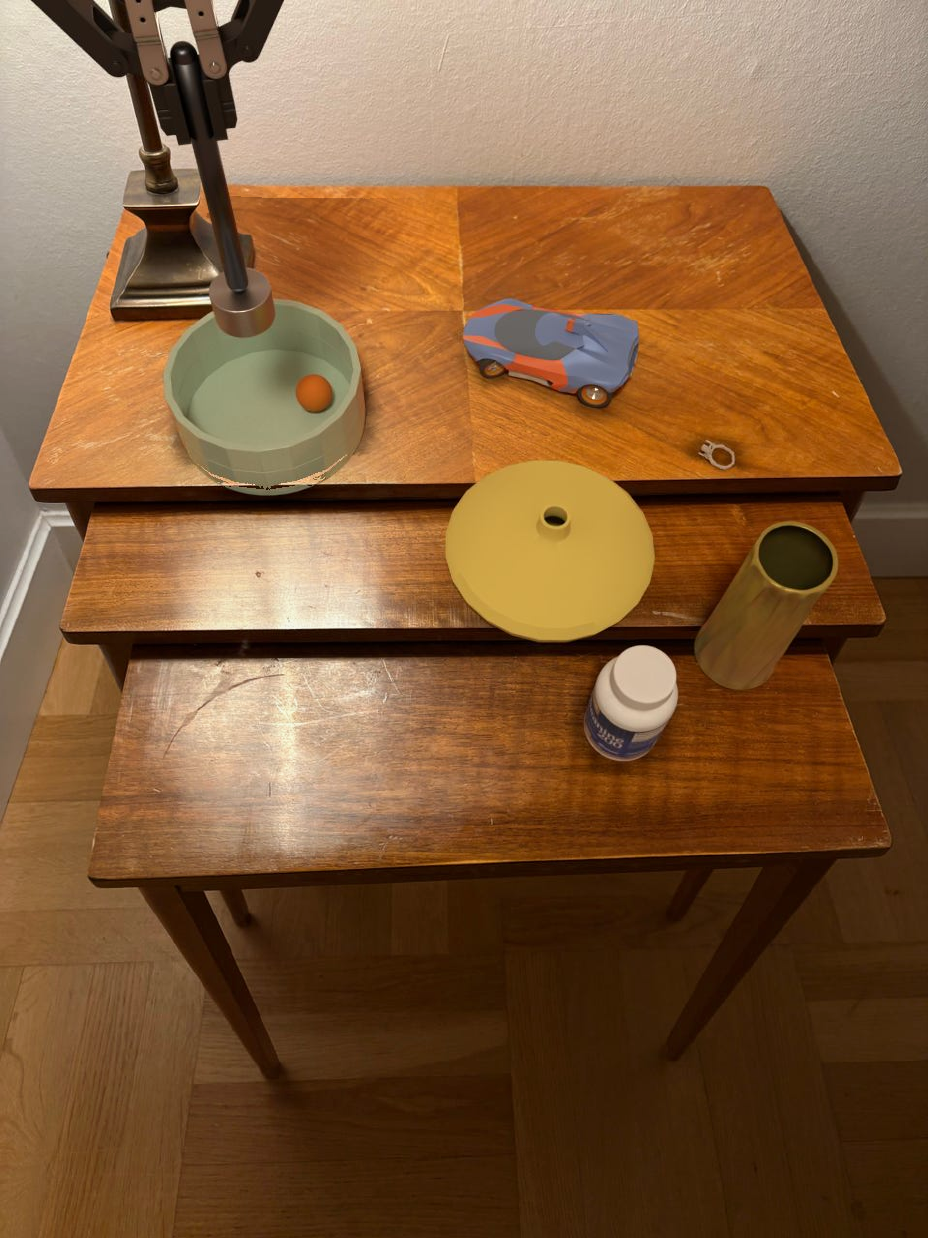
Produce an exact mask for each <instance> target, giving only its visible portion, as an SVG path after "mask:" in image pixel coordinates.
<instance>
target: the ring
mask: <svg viewBox="0 0 928 1238" xmlns="http://www.w3.org/2000/svg"><path fill="white" fill-rule="evenodd" d="M705 442H706V443H708V444H709V445H707V444H705V443H703V444H702V445H701V447H700V449H701V451H703V452H704V453H702V452H698V454H697V455H699V456H701V457H703V458H705V460H709V462H710V464H711V465H712V466H713V467H716V468H717V469H719V470H722V471H723V470H724V471H725V470H727V469H730V468H732V467H733V466H734V465H735V461H736V457H735V452H734V451H733V450H732V449H731V448H729V447H727V446H725V444H716V442H712V441H710V440H709V439H706V440H705ZM717 449H722V450H724V451H725V452H727V453H729V454H730V457H731V463H730V464H728V465H722V464H718V463H717V462H716V461H715V460H714V459H713V456H712V454H713V452H714V450H717Z"/></svg>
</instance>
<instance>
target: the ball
mask: <svg viewBox="0 0 928 1238" xmlns="http://www.w3.org/2000/svg"><path fill="white" fill-rule="evenodd" d="M332 395H333V393H332V387H331V385H330V383H329V382H328V381H327V380H326V379H325V378H324V377H322V376H320V375H316V374H311V375H307V376H305V377H303V378H302V379H301V380H300V381H299V382H298V384H297V387H296V398H297V401H298V402H299V404H300V405H301V406H302V407H303V408H304V409H306V410H308V411H312V412H318V411H321V410H323V409H325V408H326V407H327V406H328V405H329V404H330V402H331V400H332Z"/></svg>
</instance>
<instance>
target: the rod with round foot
mask: <svg viewBox="0 0 928 1238" xmlns="http://www.w3.org/2000/svg"><path fill="white" fill-rule="evenodd" d="M198 54H199V52H198V50H197V49H196V47H195V46H194V45H193V44H192V43H190V42H189V41H186V40H178V41H176V42H175V43H173V45H171V47H170V51H169V58H170V59H171V63H172V67H173V71H174V73H175V76H176V80H177V84H178V88H179V92H180V96H181V101H182V105H183V109H184V113H185V117H186V121H187V125H188V129H189V133H190V137H191V146H192V147H191V148H192V151H193V155H194V158H195V162H196V166H197V167H196V168H197V170H198V174H199V178H200V182H201V186H202V191H203V194H204V199H205V202H206V206H207V211H208V214H209V218H210V222H211V226H212V230H213V233H214V238H215V242H216V246H217V250H218V254H219V258H220V261H221V266H222V270H223V271H222V272H220V273H219V274H217V275H216V276H215V277H214V278H213V279H212V281H211V282H210V284H209V288H208V297H209V301H210V305H211V308H212V312H214V315H215V319H216V322H217V325H218V326H219V328H220V329H221V330H222V331H223V332H225V333H226V334H228V335H230V336H233V337H238V338H249V337H254V336H257V335H260V334H262V333H263V332H265V331H266V330H267V329H269V328H270V326H271V325H272V324H273V322H274V319H275V307H274V302H273V299H274V297H273V293H272V287H271V284H270V281H269V279H268V278H267V276H265V275H264V274H263V273H262V272H260V271H258V270H256V269H255V268H251V267H246V263H245V258H244V255H243V250H242V245H241V240H240V237H239V236H240V235H239V232H238V227H237V223H236V219H235V213H234V209H233V204H232V200H231V197H230V191H229V187H228V183H227V178H226V173H225V168H224V165H223V164H224V163H223V160H222V156H221V151H220V147H219V143H218V142H219V141H215V136H214V132H213V128H212V123H211V119H210V114H209V110H208V105H207V101H206V97H205V92H204V88H203V83H202V78H201V71H200V70H201V66H200V61H199V57H198Z"/></svg>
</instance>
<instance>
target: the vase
mask: <svg viewBox="0 0 928 1238" xmlns="http://www.w3.org/2000/svg"><path fill="white" fill-rule="evenodd" d="M838 571H839V556H838V552H837V550H836V547H835V546H834V544H833V543H832V542H831V540H830V539H829V538H828V537H827V536H826V535H825V534H824V533H823V532H821V531H820V530H818V529H817V528H815V527H814V526H811V525H809V524H807V523H805V522H801V521H800V522H799V521H792V520H789V521H787V520H786V521H781V522H777V523H773V524H771V525H769V526H768V527H766V528H765V529H764V530H762V532H760V534H759V536H758V537H757V540H756V541H755V543H754V544H753V545H752V546H751V549H750V551H748V553H747V555H746V557H745V559H744V561H743V563H742V564H741V566H740V568H739V569H738V571H737V572H736V574H735V575H734V578H733V579H732V580H731V582H730V584H729V586H728V587H727V588H726V590H725V592H724V594H723V595H722V596H721V599H720V601H719V602H718V604H717V605H716V606H715V608H713V611H712V612H711V614H710V616H709V617H708V619H707V621H705V623H703V624H702V626H701V627H700V628H699V630H698V632H697V635H696V637H695V639H694V645H693V647H694V648H693V650H694V651H693V652H694V656H695V660H696V662H697V664H698V667H699V668H700V670H701V671H702V672H703V673H704V675H706V677H707V678H709V679H710V680H711V681H712V682H714V683H715V684H717V685H719V686H720V687H723V688H725V689H730V690H735V691H748V690H752V689H755V688H757V687H760V686H762V685H763V684H765V683H766V682H767V681H768V680H769V679H770V677H771V676H772V674H773V673H774V672H775V670H776V666H777V664H778V662H780V660H781V658H782V657H783V656H784V654H785V653H786V651H787V650H788V648H789V647H790V644H791V643H792V642H793V640H794V639H795V638H796V636H797V634H798V633H799V631H800V630H801V629H802V627H803V625H804V623H805V621H806V619H807V618H808V616H809V615H810V613H811V611H812V609H813V607H814V606H815V604H816V602H817V601H818V599H819V598H820V597H821V596H822V595H823V594H824V593H825V592H826V591H827V589H828V588H829V587H830V586H831V584H832V583H833V581H834V579H835V578H836V575H837V573H838Z"/></svg>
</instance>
